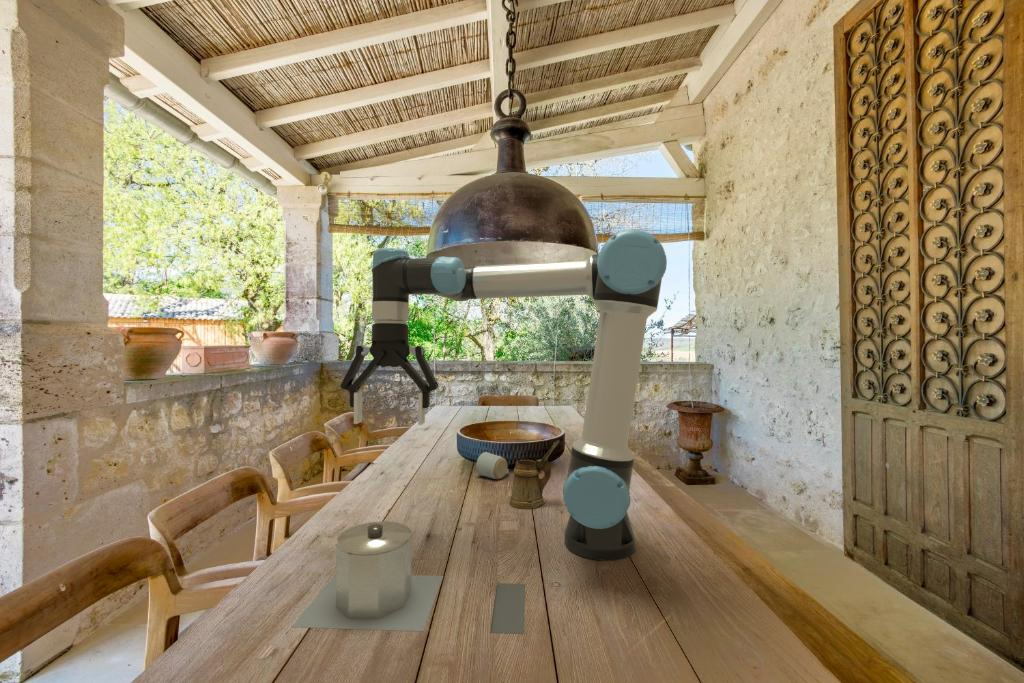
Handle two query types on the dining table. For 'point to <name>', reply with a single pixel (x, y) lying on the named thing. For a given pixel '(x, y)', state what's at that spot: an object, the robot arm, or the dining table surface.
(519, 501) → the wooden mug
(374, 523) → the stockpot with side handles
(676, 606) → the dining table surface
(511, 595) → the rubber mat
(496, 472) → the ceramic mug
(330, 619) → the serving board
